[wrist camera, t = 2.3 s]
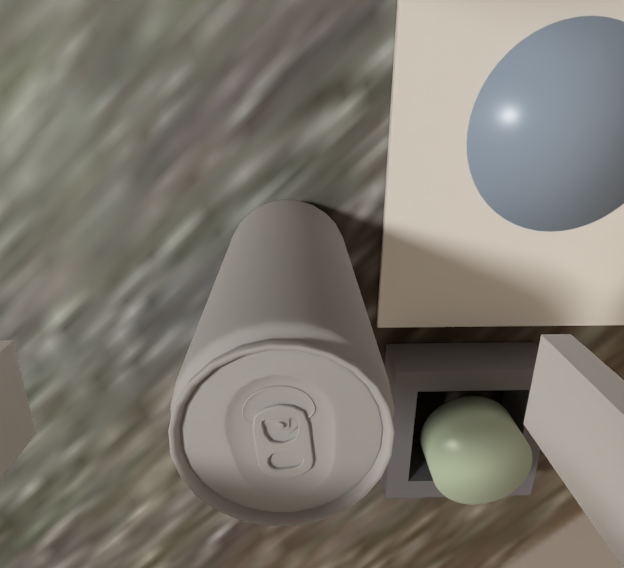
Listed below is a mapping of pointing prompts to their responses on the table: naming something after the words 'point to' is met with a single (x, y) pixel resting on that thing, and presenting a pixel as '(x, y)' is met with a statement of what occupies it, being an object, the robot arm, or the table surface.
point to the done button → (475, 450)
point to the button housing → (452, 377)
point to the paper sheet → (505, 165)
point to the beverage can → (283, 378)
